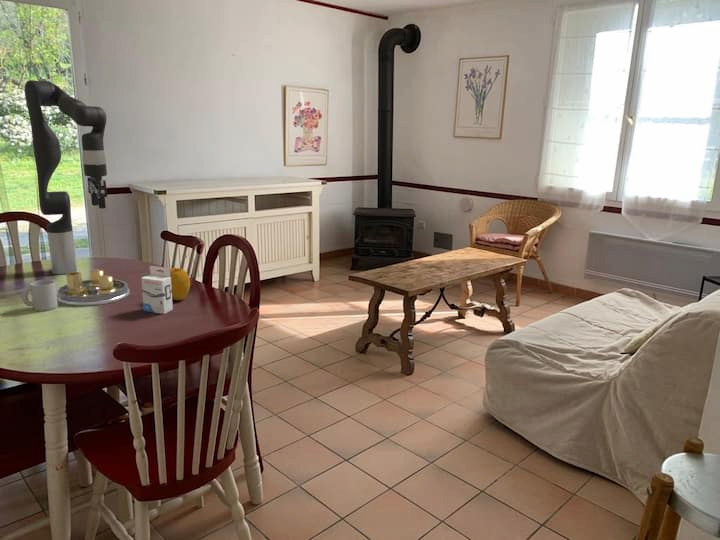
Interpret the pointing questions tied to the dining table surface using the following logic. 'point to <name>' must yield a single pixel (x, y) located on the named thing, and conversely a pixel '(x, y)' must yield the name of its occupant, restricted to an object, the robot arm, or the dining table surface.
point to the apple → (179, 283)
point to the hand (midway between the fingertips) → (98, 206)
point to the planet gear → (75, 284)
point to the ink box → (157, 291)
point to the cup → (41, 295)
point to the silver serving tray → (96, 291)
